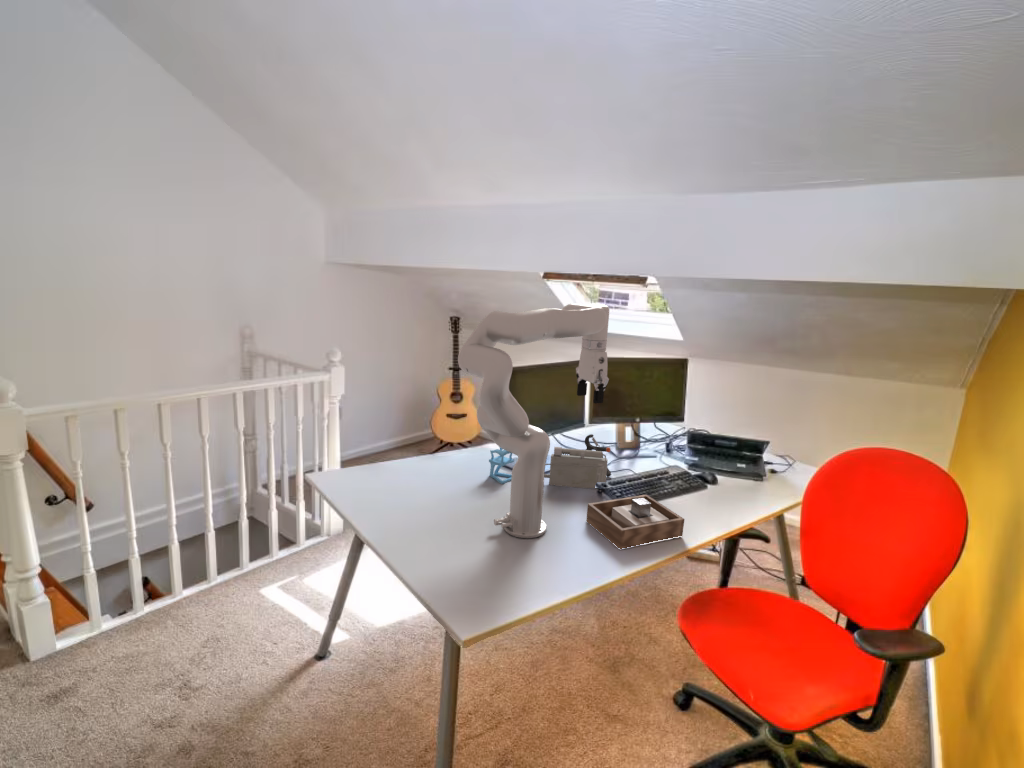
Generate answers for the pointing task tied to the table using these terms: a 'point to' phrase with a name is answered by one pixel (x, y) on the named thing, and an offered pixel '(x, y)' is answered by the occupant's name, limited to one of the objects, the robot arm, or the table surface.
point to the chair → (500, 464)
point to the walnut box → (633, 522)
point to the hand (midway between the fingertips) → (589, 399)
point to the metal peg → (640, 508)
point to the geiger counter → (577, 468)
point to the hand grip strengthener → (590, 447)
